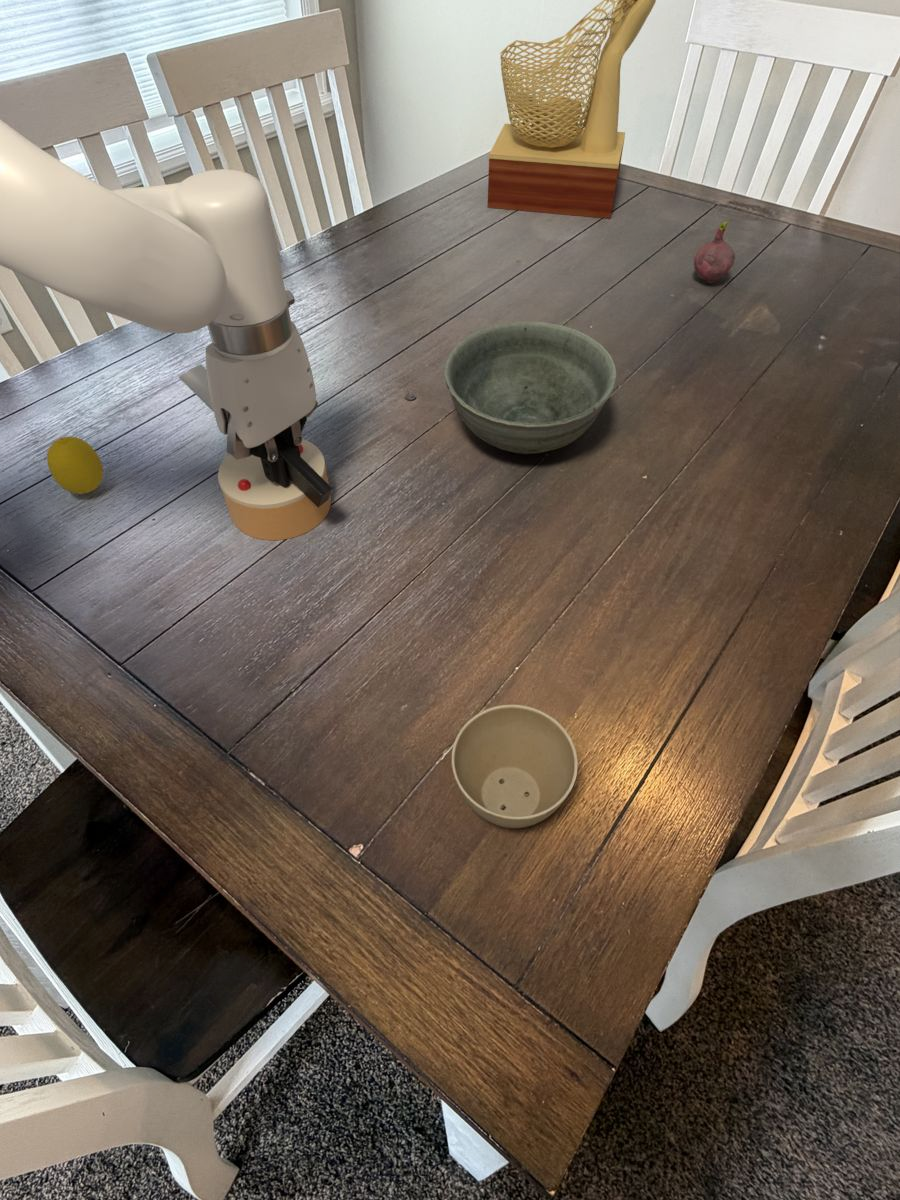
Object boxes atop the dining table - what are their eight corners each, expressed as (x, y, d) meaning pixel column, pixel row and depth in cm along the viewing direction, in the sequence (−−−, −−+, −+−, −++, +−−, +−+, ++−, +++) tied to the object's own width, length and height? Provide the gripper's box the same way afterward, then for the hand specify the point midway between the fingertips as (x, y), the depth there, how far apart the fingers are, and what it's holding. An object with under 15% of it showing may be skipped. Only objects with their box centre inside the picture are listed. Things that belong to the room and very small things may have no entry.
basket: (626, 184, 145) (664, -48, 118) (618, 223, 134) (659, -24, 107) (502, 173, 149) (513, -54, 122) (485, 211, 138) (493, -30, 111)
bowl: (626, 412, 98) (641, 345, 90) (567, 508, 86) (577, 440, 79) (488, 371, 104) (490, 305, 97) (415, 455, 93) (411, 388, 85)
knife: (313, 511, 79) (317, 499, 77) (179, 378, 80) (179, 362, 78) (332, 496, 81) (337, 484, 78) (200, 365, 82) (201, 350, 79)
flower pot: (510, 725, 68) (515, 683, 62) (591, 801, 63) (604, 763, 58) (428, 791, 64) (425, 752, 58) (507, 878, 59) (513, 845, 53)
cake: (208, 510, 87) (193, 467, 82) (283, 458, 92) (273, 416, 87) (277, 556, 82) (266, 514, 77) (352, 498, 88) (345, 456, 83)
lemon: (56, 504, 87) (26, 451, 81) (79, 474, 91) (51, 421, 85) (99, 509, 87) (72, 456, 81) (120, 479, 90) (95, 426, 84)
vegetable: (683, 286, 119) (699, 223, 112) (696, 270, 123) (712, 208, 115) (719, 296, 117) (738, 232, 110) (731, 280, 121) (750, 217, 113)
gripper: (284, 279, 73) (311, 429, 87) (155, 346, 65) (208, 499, 79) (338, 303, 70) (357, 455, 84) (209, 376, 62) (255, 530, 76)
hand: (285, 475), depth 82 cm, fingers closed on knife
